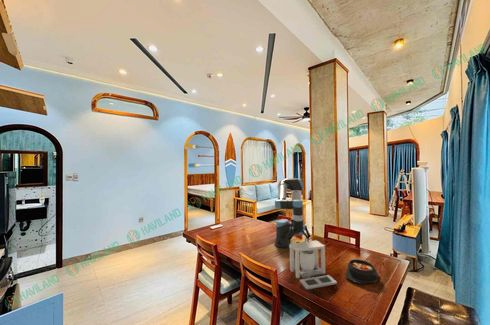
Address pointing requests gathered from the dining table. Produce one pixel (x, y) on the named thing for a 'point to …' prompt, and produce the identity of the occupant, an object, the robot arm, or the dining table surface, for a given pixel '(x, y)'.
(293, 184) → the robot arm
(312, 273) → the picture frame
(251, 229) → the dining table surface
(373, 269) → the casserole
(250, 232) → the dining table surface
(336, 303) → the dining table surface
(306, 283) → the open rectangular frame
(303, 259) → the jar
